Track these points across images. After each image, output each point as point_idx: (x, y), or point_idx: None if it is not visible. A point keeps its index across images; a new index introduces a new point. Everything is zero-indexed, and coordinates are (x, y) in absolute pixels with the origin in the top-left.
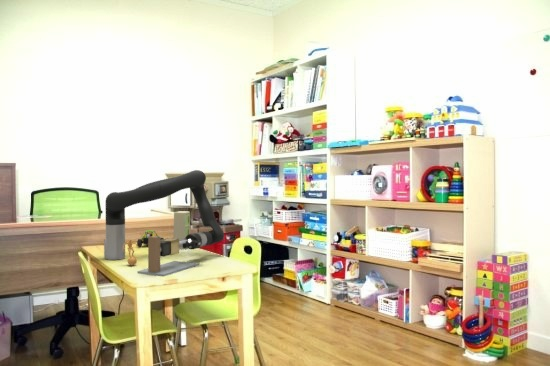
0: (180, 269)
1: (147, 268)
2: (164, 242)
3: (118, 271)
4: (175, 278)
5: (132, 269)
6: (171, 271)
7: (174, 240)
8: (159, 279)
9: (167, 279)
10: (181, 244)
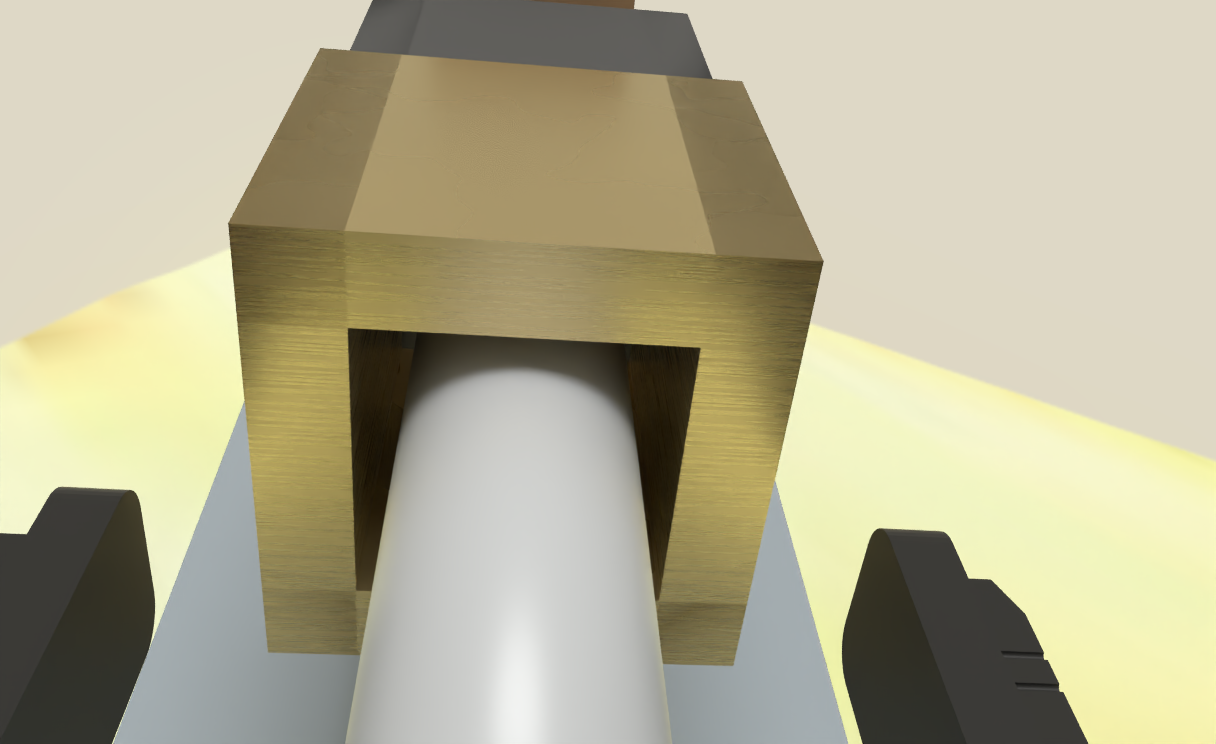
0: (131, 698)
1: (792, 545)
2: (423, 18)
3: (1058, 420)
4: (27, 362)
5: (1048, 546)
6: (231, 509)
7: (289, 108)
8: (233, 298)
9: (125, 315)
10: (350, 735)
